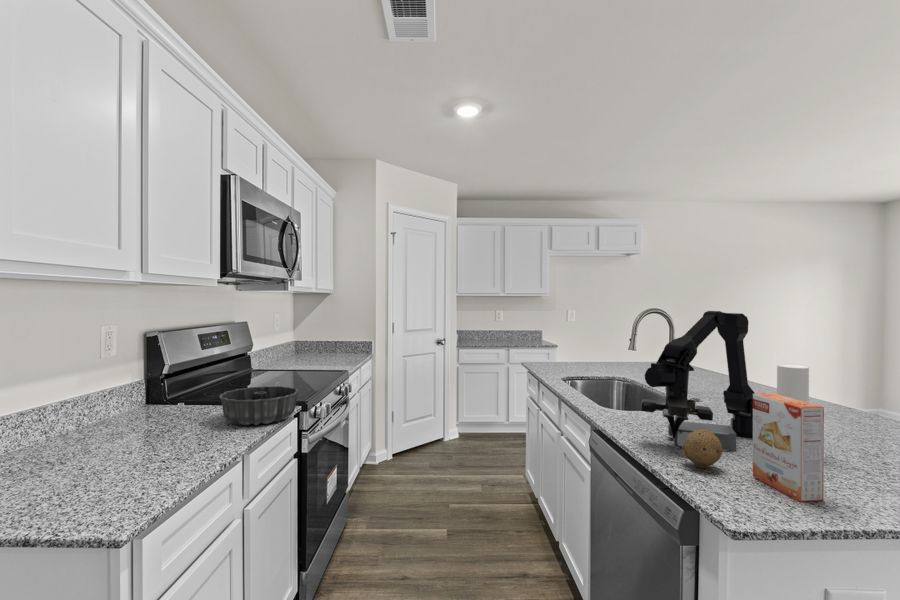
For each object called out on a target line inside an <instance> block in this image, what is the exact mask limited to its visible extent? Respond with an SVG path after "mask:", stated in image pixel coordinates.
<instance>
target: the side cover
mask: <svg viewBox="0 0 900 600" xmlns="http://www.w3.org/2000/svg"><path fill="white" fill-rule="evenodd" d="M690 433H691V432H687V431H677V443H678V445H679V446H678V445H677V446H678V447H682V446H683V443H684V442H685V440H686V438H687V437H688V435H689V434H690Z"/></svg>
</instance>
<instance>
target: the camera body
mask: <svg viewBox="0 0 900 600" xmlns="http://www.w3.org/2000/svg"><path fill="white" fill-rule="evenodd" d="M667 428H668V429H667V430H668V437H672V435H673V434H672V430H671V426H670V424H669V423H668V427H667ZM698 429H703V430H707V431H710V432H712V433H713V434H714V435H715V436H716V437H717V438H718V439H719V441H720V443H721V445H722V452H727V451H728V452H730V451H729V450H731V451H732V452H737V436H736V433H735V432H734V430H733V429H732V428H731V425H728V424H727V425H726V424H715V423H703V422H695V421H694V422H692V421H685V420H684V421H683V422H682V424H681V425H680V427H679V429H678V431H687V432H693V431H695V430H698ZM672 440H673V444H674V445H675V446H676V445H677V446H678V447H680V446H679V445H678V443H677V433H676V435H675V438H672Z"/></svg>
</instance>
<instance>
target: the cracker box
mask: <svg viewBox="0 0 900 600" xmlns="http://www.w3.org/2000/svg"><path fill="white" fill-rule="evenodd" d="M754 393H755V392H754ZM824 424H825V407H824V406H822V405H818V404H814V403H812V402H809V403H808V402H804V401H800V400H797V399H793V398H790V397H786V396H783V395H779V394H777V393H775V392H756V393H755V394H753V437H752V477H753V478H755V479H757V480H759V481H761V482H762V483H765V484H767V485H768V486H770V487H772V488H774V489H776V490H778V491H780V493H783V494H785V495H787V496H789V497H791V498H793V499H794V500H796V501H798V502H800V503H802V502H803V503H804V502H818V501H819V502H820V501H824V495H825V494H824V486H825V485H824V480H825V479H824V478H825V477H824V475H825V474H824V473H825V472H824V471H825V469H824V468H825V467H824V463H825V462H824V461H825V459H824V456H825V452H824V451H825V449H824V447H825V446H824V445H825V435H824V434H825V425H824Z"/></svg>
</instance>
